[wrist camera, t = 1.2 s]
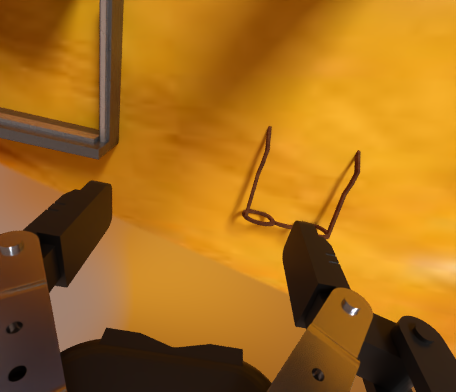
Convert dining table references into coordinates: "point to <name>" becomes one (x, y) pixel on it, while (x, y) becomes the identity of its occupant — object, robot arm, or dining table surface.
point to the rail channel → (109, 102)
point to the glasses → (326, 232)
